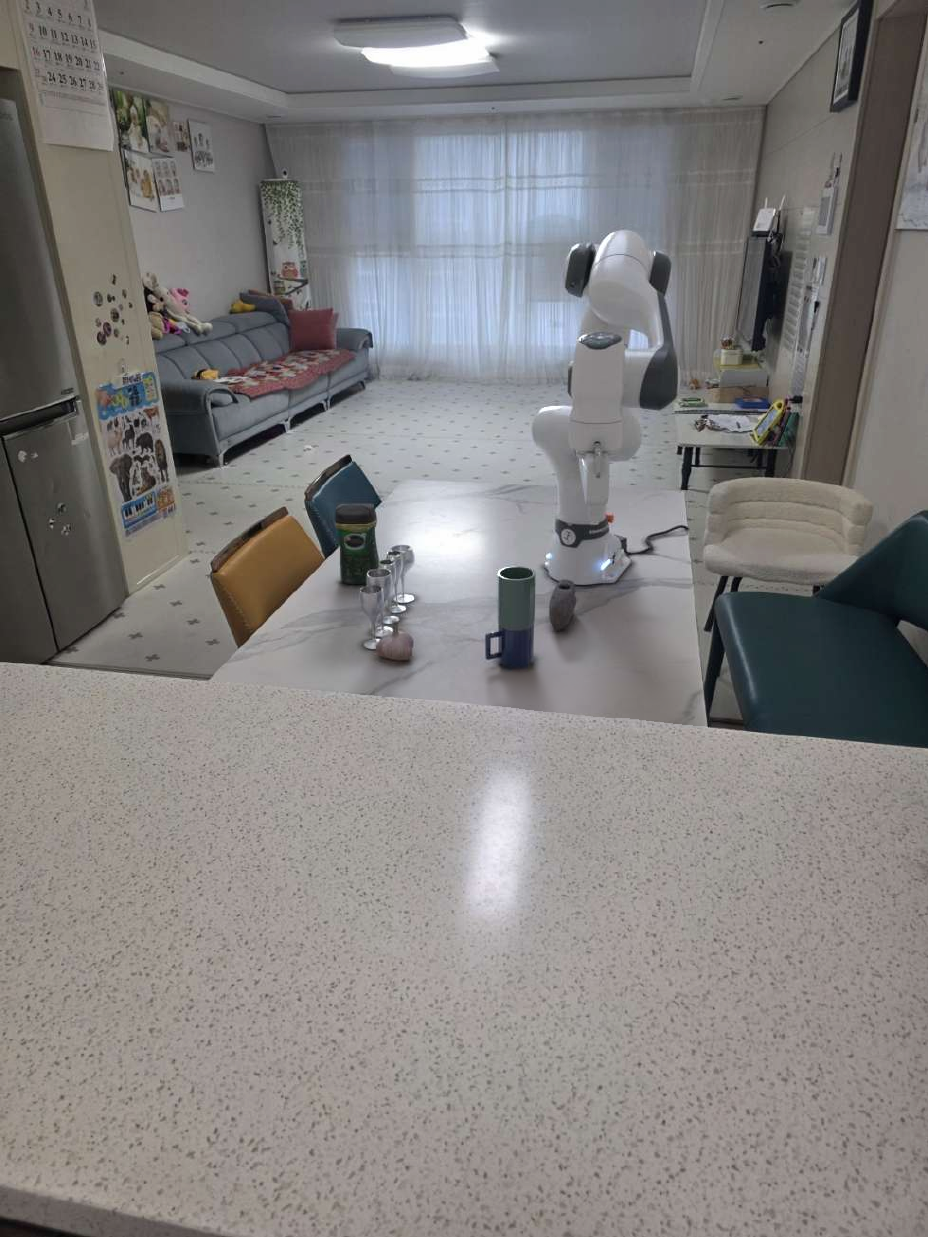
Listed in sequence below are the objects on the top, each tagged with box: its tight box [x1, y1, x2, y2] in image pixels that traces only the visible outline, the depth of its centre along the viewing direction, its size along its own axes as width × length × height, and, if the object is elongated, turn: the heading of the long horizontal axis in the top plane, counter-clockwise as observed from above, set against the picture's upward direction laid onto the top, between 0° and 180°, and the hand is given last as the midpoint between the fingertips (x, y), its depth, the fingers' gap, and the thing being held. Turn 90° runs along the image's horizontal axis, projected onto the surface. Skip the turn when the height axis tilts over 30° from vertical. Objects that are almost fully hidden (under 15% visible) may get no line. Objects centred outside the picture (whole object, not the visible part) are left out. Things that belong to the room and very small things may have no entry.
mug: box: [484, 624, 535, 670], centre depth 155 cm, size 10×7×8 cm
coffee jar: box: [334, 502, 380, 585], centre depth 192 cm, size 10×8×19 cm
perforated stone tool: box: [548, 579, 578, 631], centre depth 171 cm, size 15×5×7 cm, turn 164°
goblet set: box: [359, 544, 416, 650], centre depth 172 cm, size 28×6×13 cm, turn 169°
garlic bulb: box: [375, 620, 414, 661], centre depth 158 cm, size 8×7×8 cm
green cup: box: [496, 565, 536, 631], centre depth 152 cm, size 7×7×10 cm
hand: (591, 514), depth 144 cm, fingers open, 8 cm apart
